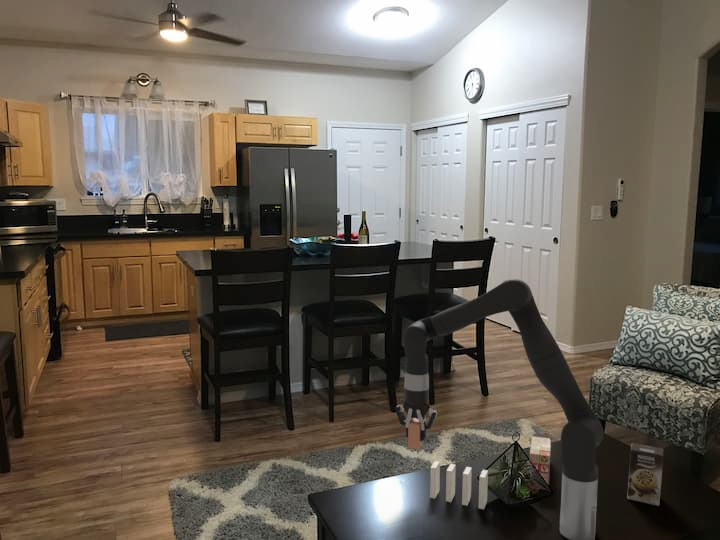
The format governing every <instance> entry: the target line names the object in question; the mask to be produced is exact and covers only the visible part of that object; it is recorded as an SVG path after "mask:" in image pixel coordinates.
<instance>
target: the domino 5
mask: <svg viewBox="0 0 720 540" xmlns="http://www.w3.org/2000/svg"><path fill="white" fill-rule="evenodd" d="M478 478H479V479H478V480H479V481H478V482H479V483H478V509H480V510H485V508H486V506H487V503H488V489H489V488H488V483H489V470H487V469H482V471H481V473H480V475H479V477H478Z"/></svg>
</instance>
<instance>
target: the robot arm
mask: <svg viewBox="0 0 720 540" xmlns="http://www.w3.org/2000/svg"><path fill="white" fill-rule="evenodd" d="M505 312H508V313H509V314H510V316H511V317H512V319H513V320H514V323H515V324H516V327H517V328H518V330H519V334H520V337H521V340H522V345H523V347H524V350H525V353H526V357H527V359H528V362H529V363H530V366H531V368H532V370H533V371H534V372H533V373H534V374H535V376H536V377H537V379H538V381H539V382H540V384H541V385H542V386H543V387H544V388H545V389H546V390H547V391H548V392H549V393H550V394H551V395H552V396H553V397H554V398H555V400H557V402H558V403H559V405H560V407H561V408H562V410H563V413H564V415H565V417H566V420H567V423H566V424H564V426H563V427H562V428H561V434H560V455H559V456H560V463H561V464H560V465H561V467H562V470H561V471H562V472H561V473H562V474H561V494H560V513H559V532H560V534H561V535H562V536H563V537H564V538H565V539H568V540H596V538H595V537H596V523H597V506H598V503H597V502H598V486H599V485H598V483H599V467H598V465H597V464H596V450H597V449H596V448H598V446H599V445H600V444H601V443H602V441H603V440H604V428H603V426H602V423H601V422H600V420H599V418H598V416H597V415H596V414H595V412H594V410H593V409H592V407H591V406H590V404H589V402H588V401H587V399H586V397H585V396H584V394H583V393H582V390H581V389H580V386H579V384H578V382H577V380H576V378H575V376H574V375H573V372H572V370H571V368H570V365H569V364H568V362H567V359H566V358H565V356H564V354H563V352H562V350H561V347H560V346H559V344H558V342H557V341H556V339H555V337H554V336H553V334H552V333H551V331H550V329H549V328H548V326H547V325H546V323H545V321H544V319H543V318H542V315H541V314H540V311H539V309H538V306H537V303H536V301H535V298H534V295H533V292H532V290H531V288H530V285H528V283H527V282H525V281H524V280H521V279H518V278H508V279H506V280H503V281H502V282H501V283H500V284H499V285H497V286H495V287H493V288H492V289H490V290H489V291H487V292H485V293H483V294H481V295H480V296H478V297H474V298H473V299H471V300H469V301H466V302H463V303H461V304H457V305H455V306H451V307H449V308H447V309H445V310H443V311H440V312H437V313H436V314H435V315H432V316H428V317H425V318H422V319H419V320H417V321H415V322H413V323H411V324H410V325H409V326H407V327H406V329H405V330H404V334H403V348H404V354H405V374H404V382H403V386H404V400H403V401H404V402H403V403H402V404H398V405H396V406H395V408H394V410H395V412H396V416H397V418H398V422H399V424H400V425H401V426H405V433H406V434H405V436H406V438H408V423H409V422H411V420H412V419H413V418H416V419H418V420H419V423H420V427H421V430H420V441H422V442H423V440H426V438H427V430H430V429H431V427H433V424H434V423H435V420H436V418H437V416H438V414H439V411H438V410H437V409H435V410H434V409H432V408H431V406H430V403H429V397H430V396H429V395H430V393H429V392H430V375H429V356H428V355H427V342H428V341H430V340H432V339H436V338H438V337H439V336H440V337H445V336H448V335H451V334H452V333H455V332H457V331H460V330H462V329H464V328H466V327H469V326H471V325H472V324H475V323H476V322H478V321H480V320H483V319H485V318H488V317H490V316H493V315H496V314H501V313H505ZM404 410H405V412H406V414H407V416H405V413H404ZM428 413H429V414H428ZM427 414H428V415H429V419H428V422H427V417H426V415H427Z"/></svg>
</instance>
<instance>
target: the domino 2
mask: <svg viewBox="0 0 720 540" xmlns="http://www.w3.org/2000/svg"><path fill="white" fill-rule="evenodd" d="M440 471H441V462H440V461H439V460H434V461H433V463H432V464H431V466H430V474H429V475H430V476H429V479H430V481H429V482H430V483H429V484H430V485H429V487H430V488H429V489H430V490H429V498H430V499H435V500H436V498H437V496H438V495H439V493H440V488H441V486H440V485H441V484H440V479H441V476H440V475H441V472H440Z"/></svg>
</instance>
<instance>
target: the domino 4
mask: <svg viewBox="0 0 720 540" xmlns="http://www.w3.org/2000/svg"><path fill="white" fill-rule="evenodd" d="M472 469H473V468H472V467H470V466H466V467H465V469H464V470H463V472H462V487H461V489H462V491H461V492H462V493H461V497H462V498H461V505H462V506H465V505H466V506H465V507H468V505H469V503H470V501H471V499H472V478H473V477H472V471H473V470H472ZM470 498H471V499H470Z"/></svg>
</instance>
